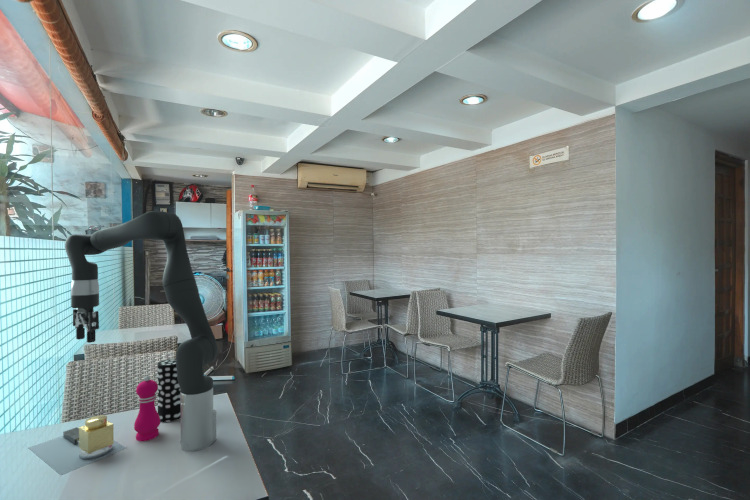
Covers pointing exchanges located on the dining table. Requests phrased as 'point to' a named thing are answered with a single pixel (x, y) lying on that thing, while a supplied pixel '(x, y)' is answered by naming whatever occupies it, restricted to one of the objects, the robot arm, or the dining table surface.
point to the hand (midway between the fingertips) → (85, 340)
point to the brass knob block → (96, 434)
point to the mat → (65, 454)
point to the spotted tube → (168, 391)
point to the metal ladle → (73, 437)
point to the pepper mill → (147, 411)
